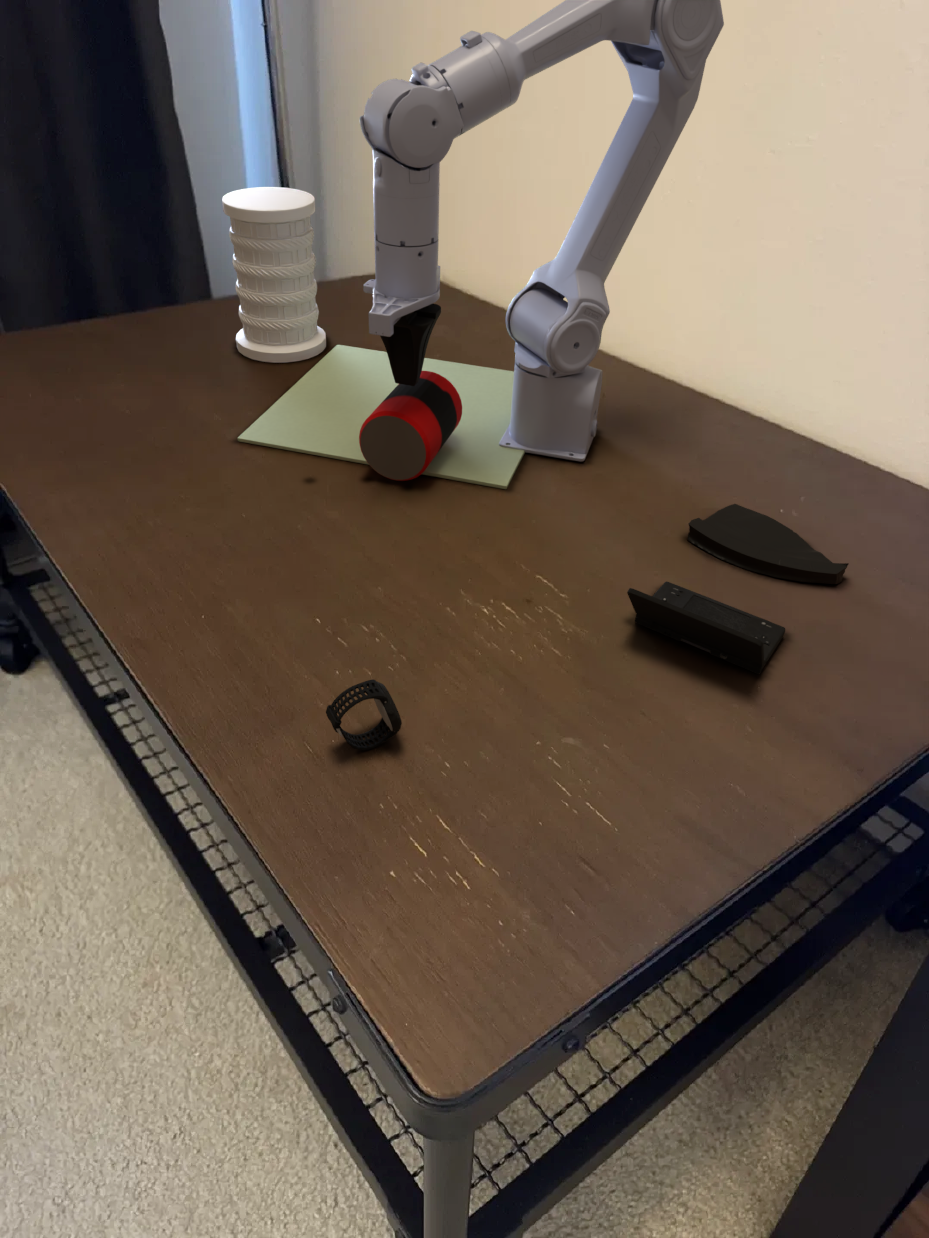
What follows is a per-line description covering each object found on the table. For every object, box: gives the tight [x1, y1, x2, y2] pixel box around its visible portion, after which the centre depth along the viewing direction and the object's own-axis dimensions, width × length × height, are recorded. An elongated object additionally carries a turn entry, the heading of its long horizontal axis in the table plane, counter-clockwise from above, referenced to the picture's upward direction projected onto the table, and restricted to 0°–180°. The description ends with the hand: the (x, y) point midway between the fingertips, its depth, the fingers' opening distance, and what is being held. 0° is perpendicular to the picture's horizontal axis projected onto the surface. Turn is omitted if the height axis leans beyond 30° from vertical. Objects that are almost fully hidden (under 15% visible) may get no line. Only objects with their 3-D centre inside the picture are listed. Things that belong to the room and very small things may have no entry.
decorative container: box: [221, 186, 327, 364], centre depth 113 cm, size 12×12×18 cm
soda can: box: [359, 371, 462, 482], centre depth 94 cm, size 8×8×12 cm
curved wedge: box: [686, 503, 850, 585], centre depth 84 cm, size 8×14×2 cm, turn 41°
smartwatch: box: [325, 678, 403, 751], centre depth 63 cm, size 4×5×5 cm
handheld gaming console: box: [626, 581, 786, 675], centre depth 72 cm, size 12×7×10 cm
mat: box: [236, 344, 526, 490], centre depth 105 cm, size 30×28×1 cm
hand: (406, 382), depth 89 cm, fingers closed
